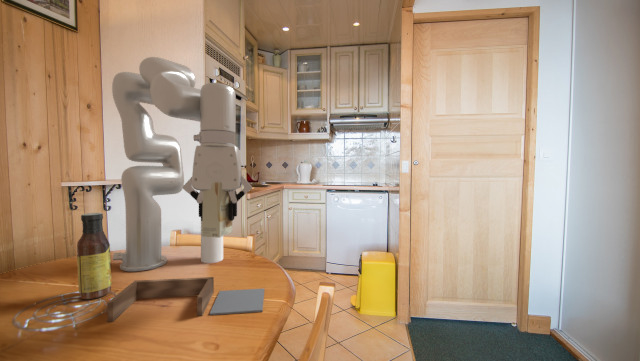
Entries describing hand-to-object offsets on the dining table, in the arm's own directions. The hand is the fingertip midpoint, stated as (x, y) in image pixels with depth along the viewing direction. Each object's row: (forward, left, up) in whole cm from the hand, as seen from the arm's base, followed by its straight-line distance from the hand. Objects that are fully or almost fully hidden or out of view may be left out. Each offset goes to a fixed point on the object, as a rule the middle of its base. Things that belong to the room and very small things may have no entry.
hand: (218, 219), depth 63 cm
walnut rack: (-11, 0, -20) cm, 23 cm away
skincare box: (0, 0, -4) cm, 4 cm away
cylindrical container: (-8, +32, -20) cm, 38 cm away
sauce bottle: (-30, +8, -20) cm, 37 cm away
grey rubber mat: (+5, 0, -20) cm, 20 cm away
